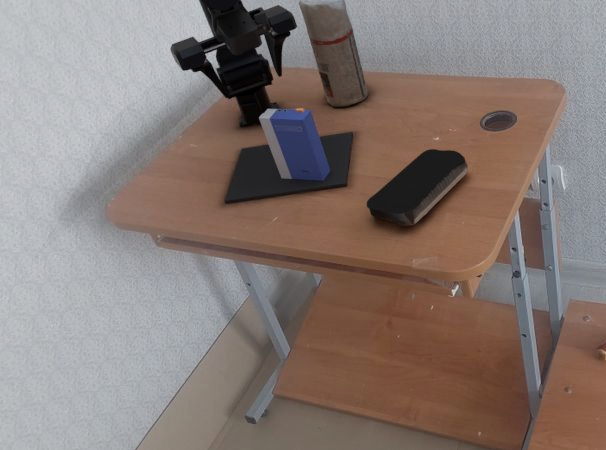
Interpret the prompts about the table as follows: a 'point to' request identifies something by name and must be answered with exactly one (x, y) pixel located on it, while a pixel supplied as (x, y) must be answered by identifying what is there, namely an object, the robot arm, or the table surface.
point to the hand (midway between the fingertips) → (253, 86)
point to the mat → (268, 183)
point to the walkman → (295, 144)
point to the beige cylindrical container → (334, 51)
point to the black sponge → (418, 187)
